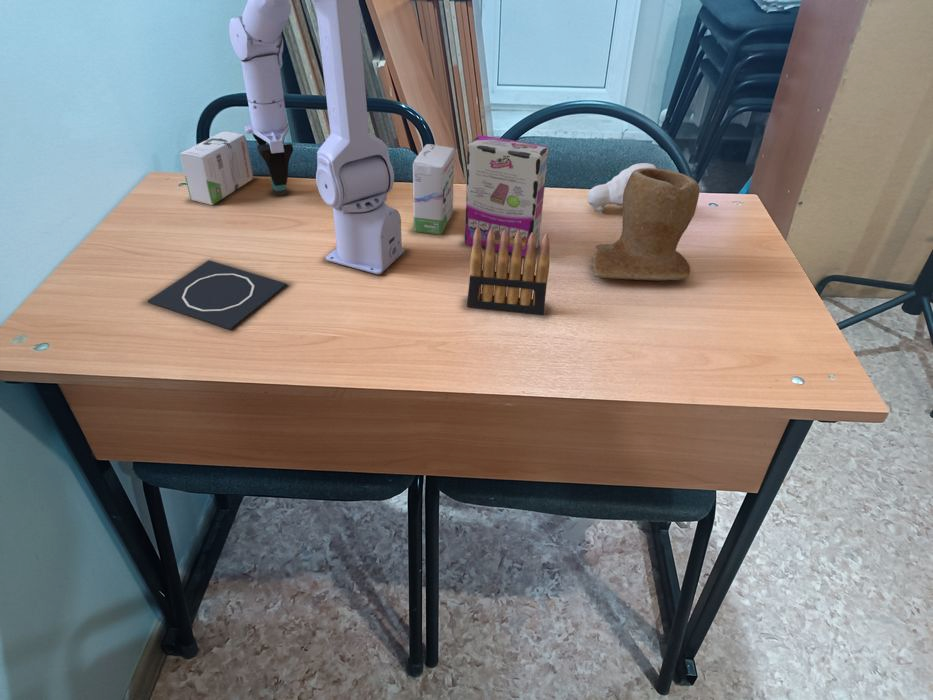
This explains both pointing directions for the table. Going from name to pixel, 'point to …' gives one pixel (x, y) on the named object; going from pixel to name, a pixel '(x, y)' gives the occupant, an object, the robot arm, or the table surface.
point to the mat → (218, 294)
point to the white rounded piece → (613, 188)
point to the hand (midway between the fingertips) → (278, 177)
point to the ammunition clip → (508, 275)
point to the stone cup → (650, 228)
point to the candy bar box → (505, 189)
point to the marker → (279, 188)
